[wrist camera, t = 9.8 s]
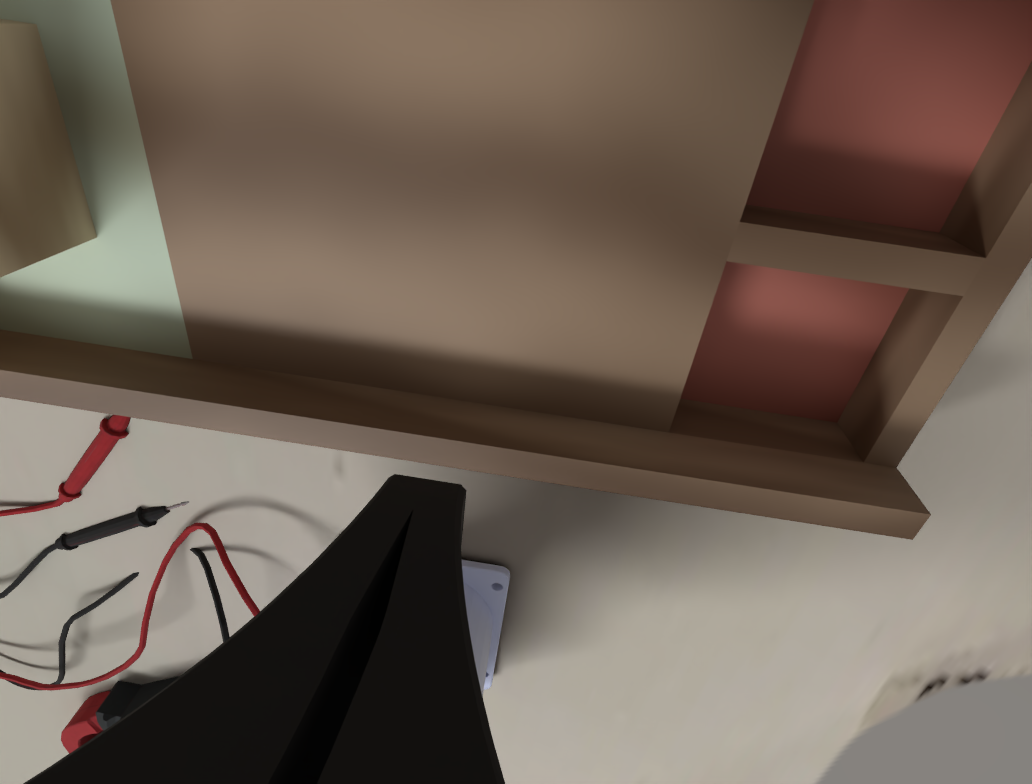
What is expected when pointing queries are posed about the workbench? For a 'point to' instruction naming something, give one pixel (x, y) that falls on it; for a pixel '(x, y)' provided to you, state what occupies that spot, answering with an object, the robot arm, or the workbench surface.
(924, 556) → the workbench surface
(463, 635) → the robot arm
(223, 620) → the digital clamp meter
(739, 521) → the workbench surface
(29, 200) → the block
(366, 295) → the long open wooden box
